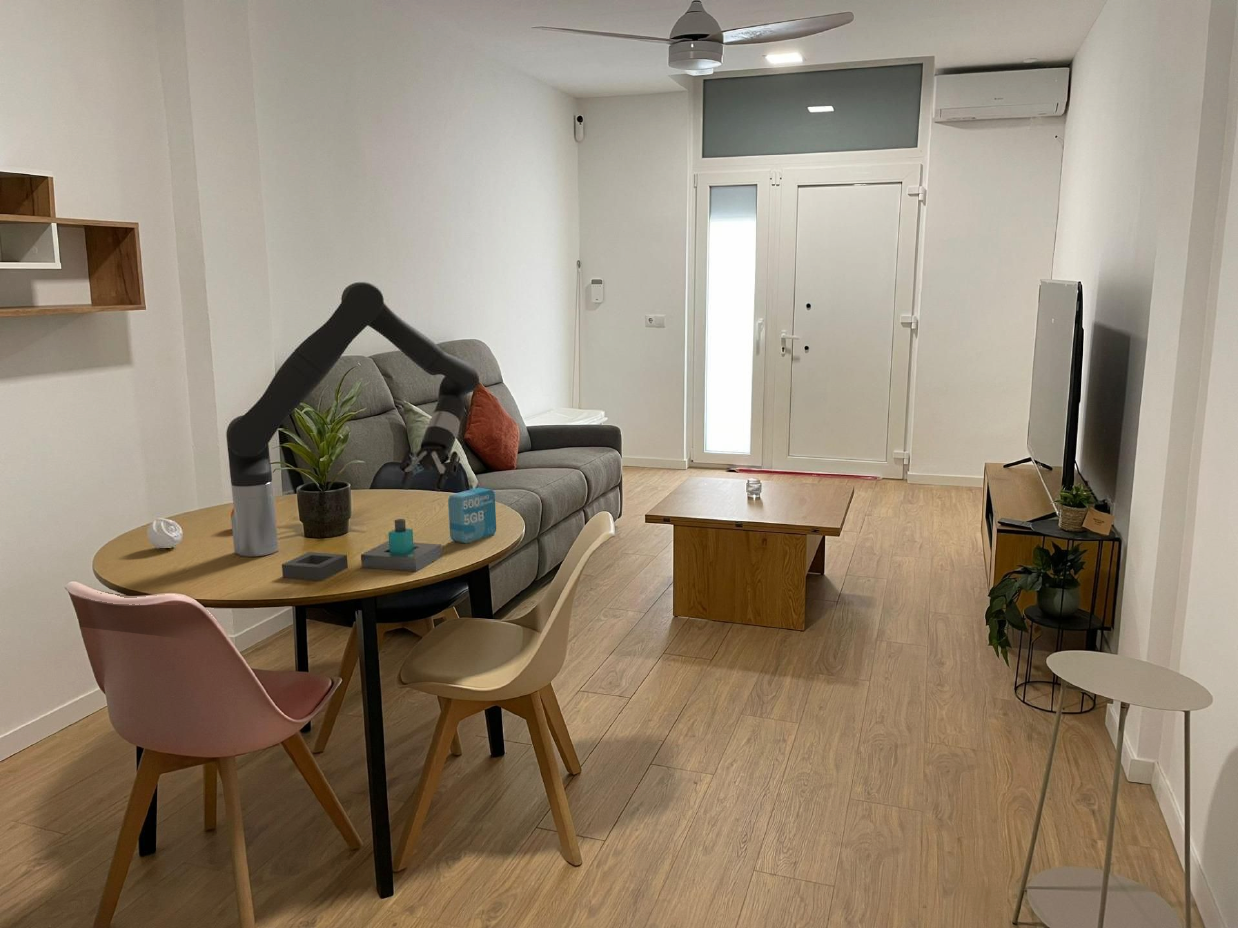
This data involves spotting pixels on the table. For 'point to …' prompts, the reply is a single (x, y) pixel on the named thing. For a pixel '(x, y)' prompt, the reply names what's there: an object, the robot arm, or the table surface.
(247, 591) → the table surface
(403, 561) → the port block
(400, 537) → the plug
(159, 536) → the motion sensor
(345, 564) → the holster
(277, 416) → the robot arm
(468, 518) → the data package
